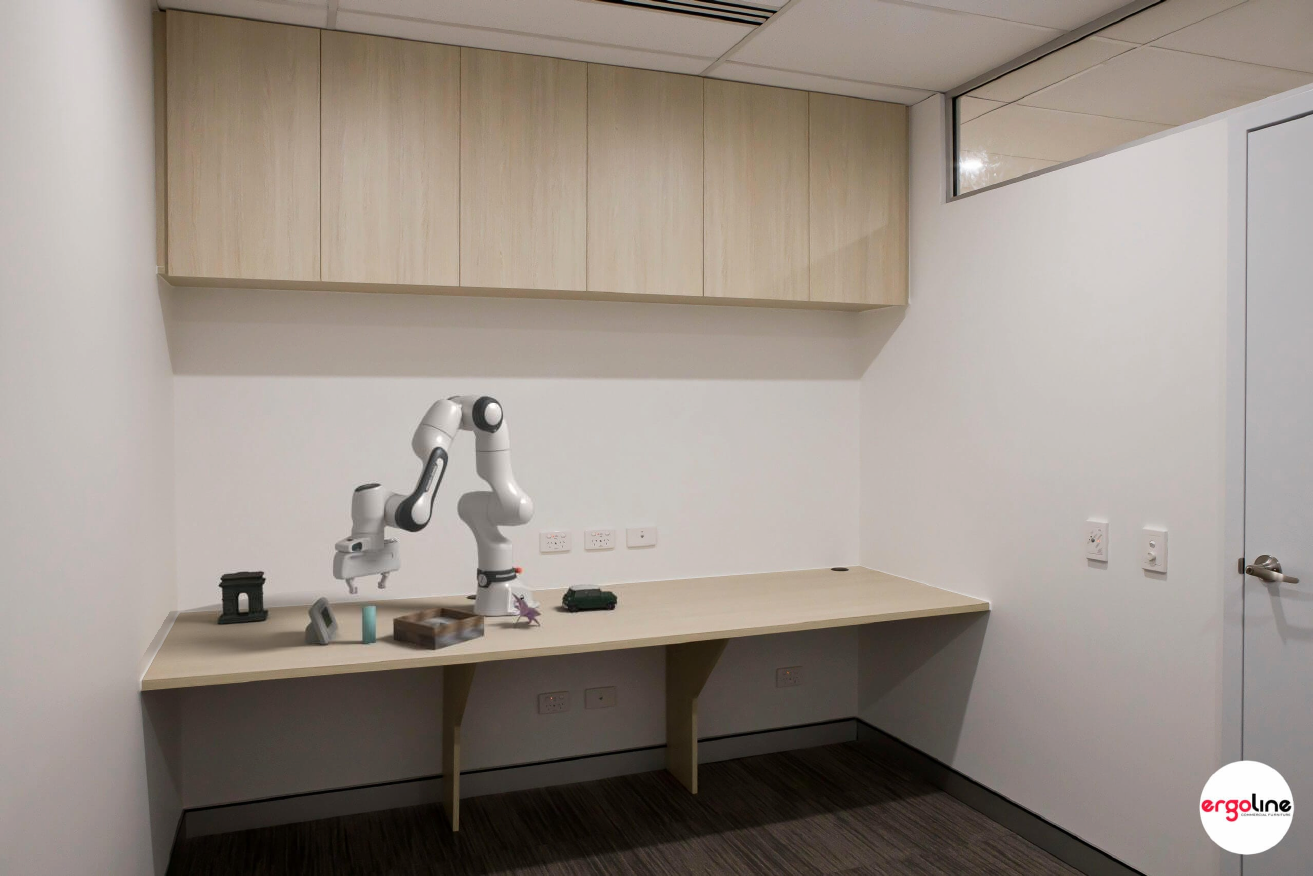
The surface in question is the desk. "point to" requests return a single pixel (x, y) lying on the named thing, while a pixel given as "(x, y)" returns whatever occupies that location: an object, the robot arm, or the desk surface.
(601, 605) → the miniature car
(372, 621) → the peg
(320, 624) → the digital clock
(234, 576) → the model
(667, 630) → the desk surface
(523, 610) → the lily
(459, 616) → the bore box
